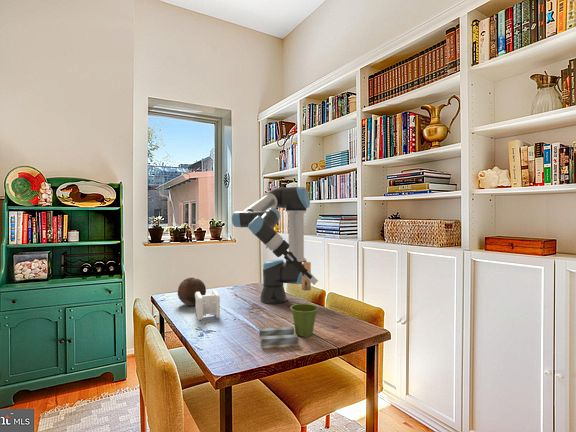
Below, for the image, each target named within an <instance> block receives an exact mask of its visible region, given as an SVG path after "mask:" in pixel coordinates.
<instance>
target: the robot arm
mask: <svg viewBox="0 0 576 432" xmlns="http://www.w3.org/2000/svg"><path fill="white" fill-rule="evenodd" d="M310 205H311V198H310V193H309V191H308V189H307V188H306V187H303V186H289V187H288V186H287V187H277V188H273V189H272V190H269V191H267V192H266V193H264V194H262V197H261V198H260V199H259V200H257V201H256V202H254V203H253V204H251V205H250V206H249V207H246V208H245V209H244V210H241V211H240V210H238V211H234V212H233V213H232V215H231V224H232V225H233V226H234V227H235V228H247V229H248V230H249V231H250V232H251V233H252V234H253V235H254V236H255V237H257V239H259V241H260V242H262V243H263V244H264V246H265V249H268V250H269V251H272V253H273V255H275V256H276V257H277V259H270V260H267V261H264V262H263V266H262V277H263V278H262V281H263V282H262V284H263V285H262V286H263V287H262V290H261V294H260V299H259V301H260V302H261V303H263V304H271V305H272V304H275V305H276V304H282V303H285V302H286V301H287V298H288V297H287V294H286V290H285V287H284V286H285V285H284V284H293V285H302V276H305V277H306V278H307V279H308V280H309V281H310V282H311V285H314V286H315V285H316V283H318V282H319V280H318V279H317V278H316V277H315V276H314V275H313V274H312V273H310V272H309V271H308V270H307V269H306V268H305V267H304V266H302V262H307V259H306V258H305V256H304V255H305V253H304V252H305V243H304V242H305V238H304V237H305V235H304V233H305V229H304V227H305V225H304V224H305V221H304V220H305V219H304V217H305V213H306V212H307V209H308V208H310ZM278 209H285V212H286V213H287V214H288V242H287V241H286V239H284V238H283V237H282V236H281V235H280V234H279V233H278V231H276V230H275V229H274V228H275V227H276V226H277V225H278V223H279V221H280V219H281V214H280V211H279V210H278ZM281 256H283V258H284V259H285V261H284V259H283V258H282V259H281V258H280V257H281ZM279 258H280V259H279Z"/></svg>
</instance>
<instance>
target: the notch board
mask: <svg viewBox="0 0 576 432" xmlns="http://www.w3.org/2000/svg"><path fill="white" fill-rule="evenodd" d="M258 334H259V335H258V336H259V337H258V338H259V342H260V347H261V350H262V349H276V348H277V349H278V348H288V347H290V346H294V347H298V346H299V337H298V336H299V335H297V334H296V333H295V327H294V326H281V327H278V326H277V327H265V328H264V327H263V328H262V327H261V328H259V329H258ZM290 348H291V347H290Z"/></svg>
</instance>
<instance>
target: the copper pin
mask: <svg viewBox="0 0 576 432" xmlns="http://www.w3.org/2000/svg"><path fill="white" fill-rule="evenodd" d="M311 265H312V263H311V262H310V261H306V262H302V266H304V267H305V268H306V269H307V270H308V271H309V272H310V273H311V271H312V268H311V267H312V266H311ZM311 274H312V273H311ZM311 285H312V283H311V282H310V281H309V280H308V279H307V278H306V277H305V276H302V284H301V290H302V291H311V290H312V286H311Z"/></svg>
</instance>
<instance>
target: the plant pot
mask: <svg viewBox="0 0 576 432" xmlns="http://www.w3.org/2000/svg"><path fill="white" fill-rule="evenodd" d="M289 309H290V310H291V314H292V319H293V324H294V325H293V327H294V334H297V336H299V337H302V336H303V338H304V337H305V338H307V336H308V337H310V336H312V335H313V333H314V327H315V321H316V317H317V313H318V310H319V307H318V306H317V305H315V304H309V303H295V304H292V305H291V306H290V307H289Z"/></svg>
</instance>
